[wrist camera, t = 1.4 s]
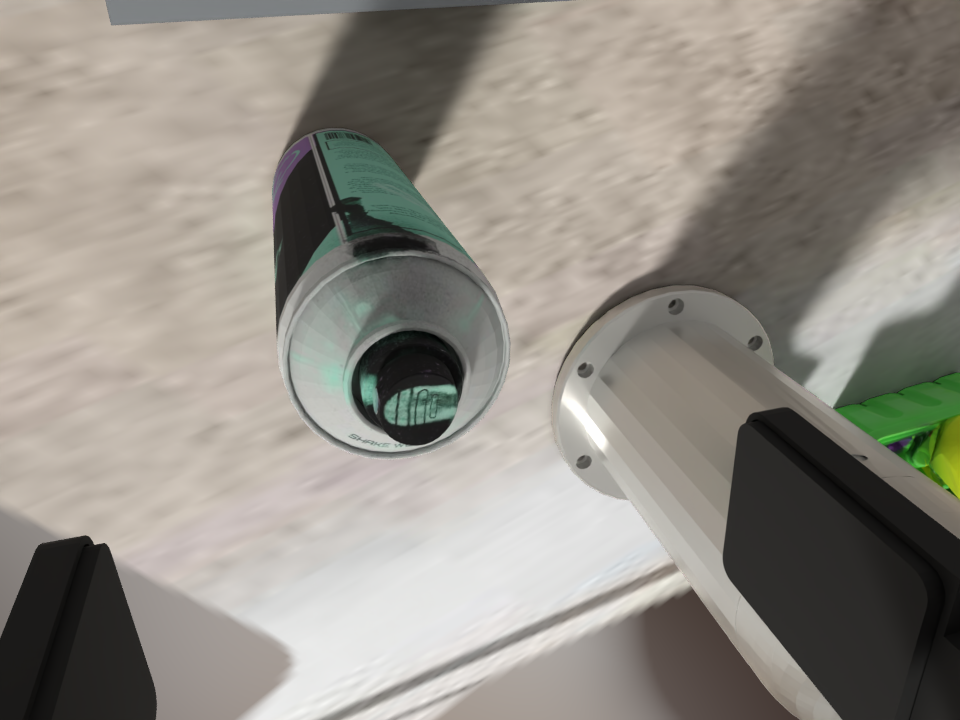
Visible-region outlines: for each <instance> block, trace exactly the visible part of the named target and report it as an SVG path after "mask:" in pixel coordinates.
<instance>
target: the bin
mask: <svg viewBox="0 0 960 720" xmlns="http://www.w3.org/2000/svg"><path fill="white" fill-rule="evenodd" d="M105 1H106V5H107V9H108V14H109V18H110V22H111V25H127V24H145V23H164V22H182V21H201V20H219V19H237V18H256V17H274V16H293V15H311V14H330V13H348V12H367V11H385V10H404V9H422V8H441V7H459V6H478V5H496V4H515V3H533V2H552V1H570V0H105Z"/></svg>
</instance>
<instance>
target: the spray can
mask: <svg viewBox="0 0 960 720" xmlns="http://www.w3.org/2000/svg"><path fill="white" fill-rule="evenodd" d="M272 200H273V232H274V264H275V296H276V328H277V350H278V362H279V368H280V372H281V375H282V378H283V381H284V384H285V387H286V389H287V391H288V394H289V397H290V400H291V402H292V404H293V406H294V407H295V409H296V411H297V412H298V414H299V416H300V418H301V419H302V420H303V421H304V422H305V423H306V424H307V425H308V426H309V428H310V429H311V430H312V431H313V432H314V433H315V434H317V435H318V436H319V437H321V438H322V439H324V440H325V441H326V442H328V443H329V444H331V445H333V446H335V447H337V448H339V449H341V450H343V451H346V452H348V453H350V454H354V455H358V456H362V457H366V458H371V459H386V460H394V459H404V458H413V457H416V456H420V455H423V454H427V453H431V452H434V451H436V450H438V449H440V448H442V447H444V446H447V445H449V444H451V443H453V442H454V441H455V440H457V439H458V438H460V437H461V436H463V435H464V434H466V433H467V432H469V431H470V430H471V429H472V428H473V427H474V426H475V425H476V424H477V423H478V422H479V421H480V420H481V419H482V418H483V417H484V416H485V415H486V413H487V412H488V410H489V409H490V408H491V406H492V405H493V404H494V402H495V401H496V399H497V397H498V395H499V393H500V391H501V388H502V386H503V384H504V382H505V378H506V374H507V370H508V367H509V361H510V337H509V331H508V324H507V322H506V319H505V316H504V314H503V310H502V308H501V305H500V303H499V300H498V297H497V295H496V292H495V290H494V289H493V287H492V286H491V284H490V283H489V281H488V280H487V278H486V277H485V275H484V274H483V273H482V271H481V270H480V269H479V268H478V266H477V265H476V264H475V262H474V261H473V260H472V259H471V257H470V256H469V255H468V254H467V252H466V251H465V250H464V249H463V247H462V246H461V245H460V244H459V242H458V241H457V240H456V239H455V237H454V236H453V235H452V233H451V232H450V231H449V230H448V228H447V227H446V226H445V225H444V223H443V222H442V221H441V220H440V218H439V217H438V216H437V215H436V213H435V212H434V211H433V210H432V208H431V207H430V206H429V204H428V203H427V202H426V201H425V199H424V198H423V197H422V196H421V194H420V193H419V192H418V191H417V189H416V188H415V187H414V186H413V184H412V183H411V182H410V181H409V179H408V178H407V177H406V175H405V174H404V173H403V172H402V170H401V169H400V168H399V167H398V165H397V164H396V163H395V162H394V160H393V159H392V158H391V157H390V155H389V154H388V153H387V152H386V151H385V150H384V149H383V148H382V147H381V146H380V145H379V144H378V143H377V142H375V141H374V140H372V139H371V138H369V137H368V136H366V135H364V134H361V133H359V132H357V131H354V130H349V129H344V128H326V129H321V130H316V131H314V132H312V133H309V134H307V135H305V136H303V137H302V138H300V139H299V140H297V141H296V142H294V143H293V144H292V145H291V146H290V148H289V149H288V150H287V151H286V152H285V153H284V155H283V157H282V158H281V160H280V162H279V163H278V166H277V169H276V172H275V175H274V180H273V188H272Z"/></svg>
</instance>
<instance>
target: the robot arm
mask: <svg viewBox="0 0 960 720" xmlns="http://www.w3.org/2000/svg"><path fill="white" fill-rule="evenodd" d="M669 303H670V304H669ZM581 364H582V365H581ZM580 365H581V366H580ZM551 409H552V428H553V432H554V437H555V441H556V444H557V446H558V448H559V450H560V452H561V454H562V456H563V458H564V460H565V461H566V463H567V464H568V466H569V467H570V469H571V470H572V471H573V473H574V474H575V475H576V476H577V477H578V478H579V479H581V480H582V481H583V482H584V483H585V484H586V485H587V486H589V487H591V488H592V489H594V490H596V491H597V492H599V493H601V494H603V495H606V496H610V497H613V498H616V499H620V500H629V501H630V502H631V503H632V505H633V506H634V508H635V509H636V510H637V512H638V513H639V515H640V516H641V517H642V519H643V520H644V521H645V523H646V524H647V526H648V527H649V528H650V530H651V531H652V532H653V534H654V535H655V537H656V538H657V539H658V541H659V542H660V544H661V545H662V546H663V548H664V549H665V550H666V552H667V553H668V555H669V556H670V557H671V559H672V560H673V561H674V563H675V564H676V566H677V567H678V568H679V570H680V571H681V573H682V574H683V575H684V577H685V578H686V579H687V581H688V582H689V584H690V585H691V586H692V588H693V589H694V590H695V592H696V593H697V594H698V596H699V597H700V599H701V600H702V601H703V603H704V604H705V606H706V607H707V608H708V610H709V611H710V613H711V614H712V615H713V617H714V618H715V619H716V621H717V622H718V624H719V625H720V626H721V628H722V629H723V630H724V632H725V633H726V634H727V636H728V637H729V638H730V640H731V641H732V643H733V644H734V646H735V647H736V648H737V650H738V651H739V652H740V654H741V655H742V656H743V658H744V659H745V661H746V662H747V663H748V664H749V666H750V667H751V668H752V670H753V671H754V672H755V674H756V675H757V676H758V678H759V679H760V680H761V682H762V683H763V685H764V686H765V687H766V688H767V689H768V691H769V692H770V693H771V694H772V695H773V696H774V698H775V699H776V700H777V701H778V702H779V703H781V704H782V705H783V706H784V707H785V708H786V709H787V710H788V711H789V712H790V713H792V714H793V715H794V716H796V717H797V718H799V719H800V720H960V499H958V498H957V497H955V496H954V495H953V494H951V493H950V492H948V491H947V490H946V489H944V488H943V487H941V486H940V485H938V484H937V483H935V482H934V481H933V480H931V479H930V478H928V477H927V476H926V475H924V474H923V473H921V472H920V471H919V470H917V469H916V468H915V467H913V466H912V465H910V464H909V463H908V462H906V461H905V460H903V459H902V458H901V457H899V456H898V455H897V454H895V453H894V452H892V451H891V450H890V449H888V448H887V447H885V446H884V445H883V444H881V443H880V442H879V441H877V440H876V439H874V438H873V437H872V436H870V435H869V434H867V433H866V432H865V431H863V430H862V429H860V428H859V427H858V426H856V425H855V424H854V423H852V422H851V421H849V420H848V419H847V418H845V417H844V416H842V415H841V414H840V413H838V412H837V411H836V410H834V409H833V408H831V407H830V406H829V405H827V404H826V403H824V402H823V401H822V400H820V399H819V398H817V397H816V396H815V395H813V394H812V393H811V392H809V391H808V390H806V389H805V388H804V387H802V386H801V385H799V384H798V383H797V382H795V381H794V380H793V379H791V378H790V377H788V376H787V375H786V374H784V373H783V372H781V371H780V370H779V369H777V368H776V367H775V366H774V356H773V352H772V348H771V345H770V341H769V338H768V336H767V334H766V332H765V331H764V329H763V327H762V325H761V323H760V322H759V321H758V320H757V319H756V318H755V316H754V315H753V314H752V313H751V312H750V311H749V310H748V309H747V308H745V307H744V306H742V305H741V304H740V303H738V302H737V301H735V300H734V299H732V298H730V297H728V296H726V295H724V294H722V293H720V292H718V291H716V290H713V289H709V288H704V287H700V286H693V285H673V286H668V287H662V288H657V289H652V290H649V291H647V292H644V293H642V294H639V295H636V296H634V297H631V298H629V299H627V300H626V301H624V302H622V303H621V304H619V305H617V306H616V307H614V308H612V309H610V310H609V311H608V312H607V313H606V314H604V315H603V316H602V317H601V318H600V319H598V320H597V321H596V322H595V323H594V324H592V325H591V326H590V327H589V329H588V330H587V331H586V332H585V333H584V334H583V336H582V337H581V338H580V339H579V340H578V341H577V342H576V344H575V345H574V347H573V349H572V350H571V352H570V354H569V355H568V357H567V358H566V360H565V362H564V364H563V366H562V369H561V371H560V374H559V376H558V379H557V381H556V384H555V389H554V394H553V399H552V404H551ZM156 707H157V701H156V692H155V687H154V683H153V680H152V677H151V674H150V671H149V668H148V665H147V662H146V658H145V655H144V652H143V649H142V646H141V643H140V640H139V637H138V634H137V631H136V628H135V625H134V622H133V619H132V616H131V613H130V610H129V606H128V604H127V600H126V598H125V594H124V591H123V588H122V585H121V582H120V579H119V576H118V573H117V570H116V567H115V564H114V561H113V557H112V554H111V552H110V549H109V547H108V546H107V544H105V543H102V544H97V545H94V544H93V541H92V540H91V538H90V537H89V536H86V535H85V536H80V537H74V538H69V539H64V540H58V541H53V542H47V543H42V544H40V545H39V546H38V547H37V549H36V551H35V553H34V555H33V558H32V560H31V563H30V565H29V568H28V570H27V573H26V575H25V578H24V580H23V583H22V585H21V588H20V590H19V593H18V595H17V598H16V600H15V603H14V605H13V608H12V610H11V613H10V615H9V618H8V621H7V623H6V626H5V628H4V631H3V633H2V636H1V638H0V720H155V719H156V710H157V708H156Z"/></svg>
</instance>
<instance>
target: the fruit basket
mask: <svg viewBox="0 0 960 720" xmlns="http://www.w3.org/2000/svg"><path fill="white" fill-rule="evenodd" d="M835 410H836V411H837V412H838V413H840V414H841V415H842V416H844V417H845V418H847V419H848V420H849V421H851V422H852V423H854V424H855V425H856V426H858V427H859V428H860V429H862V430H863V431H865V432H866V433H867V434H869V435H870V436H872V437H873V438H874V439H876V440H877V441H879V442H880V443H881V444H883V445H884V446H885V447H887V448H888V449H890V450H891V451H892V452H894V453H895V454H897V455H898V456H899V457H901V458H902V459H903V460H905V461H906V462H908V463H909V464H910V465H912V466H913V467H915V468H916V469H917V470H919V471H920V472H921V473H923V474H924V475H926V476H927V477H928V478H930V479H931V480H933V481H934V482H935V483H937V484H938V485H940V486H941V487H943V488H944V489H946V490H947V491H948V492H950V493H951V494H953V495H954V496H955V497H957V498H958V499H960V373H959V372H958V373H954V374H951V375H948V376H944V377H941V378H939V379H937V380H936V381H934V382H933V383H932V382H925V383H921V384H918V385H914V386H911V387H908V388H904V389H903V390H901V391H899V392H898V393H897V394H896V393H888V394H884V395H881V396H878V397H874V398H871V399H868V400H866V401H865V402H863V403H861V404H851V405H848V406H844V407H841V408H838V409H835Z"/></svg>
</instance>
